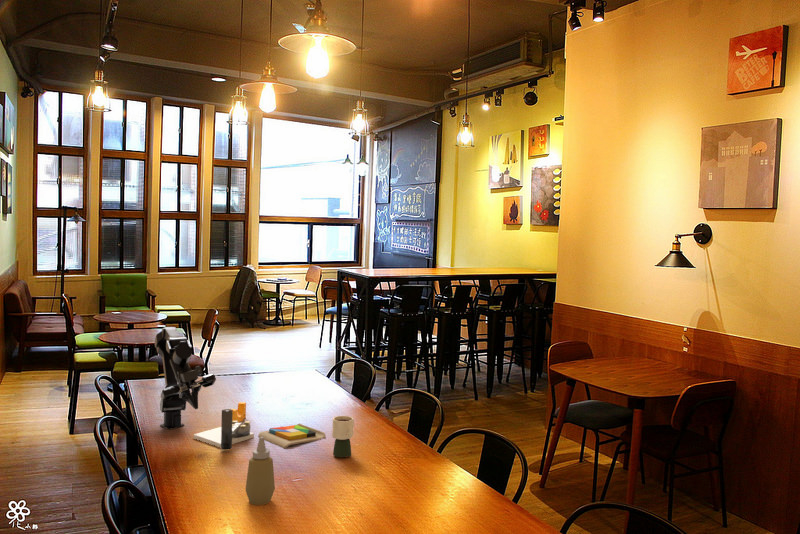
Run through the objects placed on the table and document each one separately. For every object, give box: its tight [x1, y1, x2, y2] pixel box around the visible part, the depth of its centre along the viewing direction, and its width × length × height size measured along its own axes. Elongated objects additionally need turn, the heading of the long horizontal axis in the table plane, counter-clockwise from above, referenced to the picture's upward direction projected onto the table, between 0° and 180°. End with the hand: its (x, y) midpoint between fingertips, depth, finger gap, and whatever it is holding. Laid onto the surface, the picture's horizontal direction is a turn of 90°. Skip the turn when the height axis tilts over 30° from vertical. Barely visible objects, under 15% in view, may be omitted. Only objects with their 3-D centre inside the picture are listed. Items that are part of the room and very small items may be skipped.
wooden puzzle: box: [258, 423, 326, 449], centre depth 229 cm, size 18×19×4 cm
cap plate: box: [193, 426, 255, 449], centre depth 225 cm, size 15×15×2 cm
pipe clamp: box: [231, 401, 247, 422], centre depth 245 cm, size 12×4×6 cm, turn 174°
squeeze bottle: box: [245, 437, 276, 506], centre depth 173 cm, size 8×8×18 cm
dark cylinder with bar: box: [220, 408, 251, 451], centre depth 220 cm, size 8×19×13 cm, turn 176°
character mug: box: [331, 415, 355, 459], centre depth 211 cm, size 11×7×13 cm, turn 33°
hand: (196, 408), depth 219 cm, fingers closed
